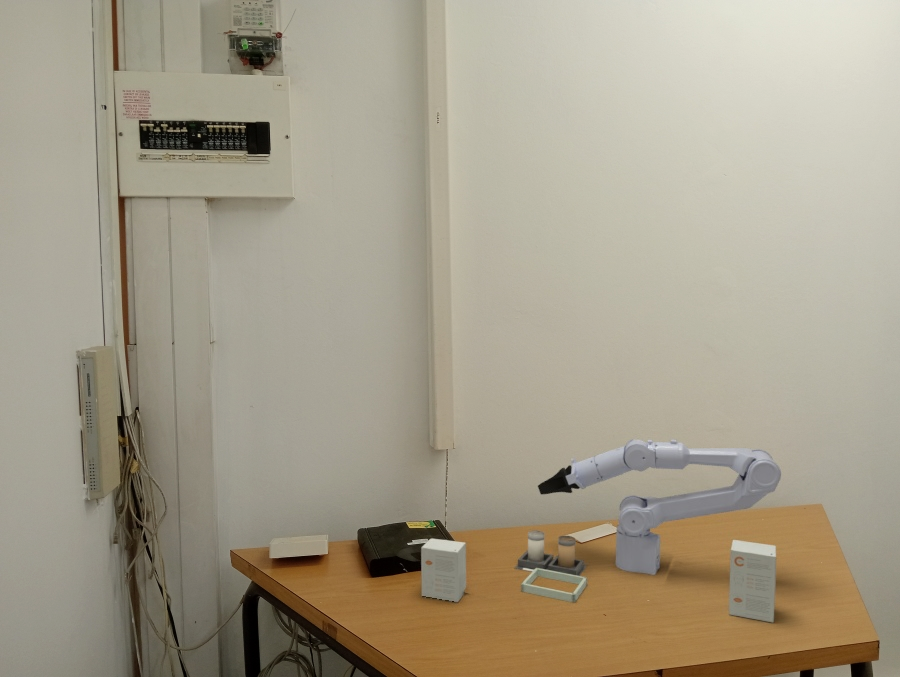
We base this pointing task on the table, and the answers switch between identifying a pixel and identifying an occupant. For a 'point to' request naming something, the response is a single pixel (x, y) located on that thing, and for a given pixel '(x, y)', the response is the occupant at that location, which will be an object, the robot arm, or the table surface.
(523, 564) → the tray
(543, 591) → the tray
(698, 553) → the table surface
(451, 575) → the small box
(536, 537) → the cylinder
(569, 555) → the cylinder
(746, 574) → the small box
